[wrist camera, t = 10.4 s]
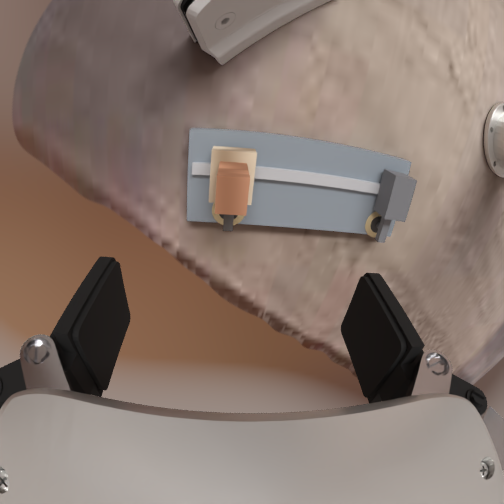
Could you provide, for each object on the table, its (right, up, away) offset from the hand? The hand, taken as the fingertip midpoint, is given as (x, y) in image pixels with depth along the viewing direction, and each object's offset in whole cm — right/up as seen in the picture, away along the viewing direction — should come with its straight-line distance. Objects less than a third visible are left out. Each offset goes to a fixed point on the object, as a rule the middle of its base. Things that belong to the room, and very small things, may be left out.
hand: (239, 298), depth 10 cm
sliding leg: (-2, +8, +18) cm, 20 cm away
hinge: (+1, +27, +9) cm, 29 cm away
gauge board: (+6, +9, +20) cm, 23 cm away
